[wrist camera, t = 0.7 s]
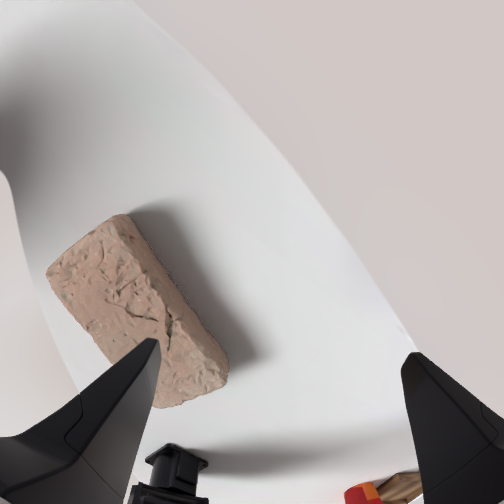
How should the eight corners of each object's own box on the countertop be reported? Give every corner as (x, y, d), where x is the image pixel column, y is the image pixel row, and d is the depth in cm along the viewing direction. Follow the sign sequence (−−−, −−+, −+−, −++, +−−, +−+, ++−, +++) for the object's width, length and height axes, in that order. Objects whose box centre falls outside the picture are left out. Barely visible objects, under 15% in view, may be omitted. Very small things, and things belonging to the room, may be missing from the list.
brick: (234, 358, 27) (234, 390, 22) (165, 387, 28) (157, 418, 23) (130, 206, 23) (107, 214, 18) (65, 255, 23) (38, 272, 19)
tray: (355, 503, 39) (357, 509, 37) (396, 473, 36) (400, 479, 34) (404, 498, 41) (406, 504, 40) (441, 470, 39) (444, 475, 37)
